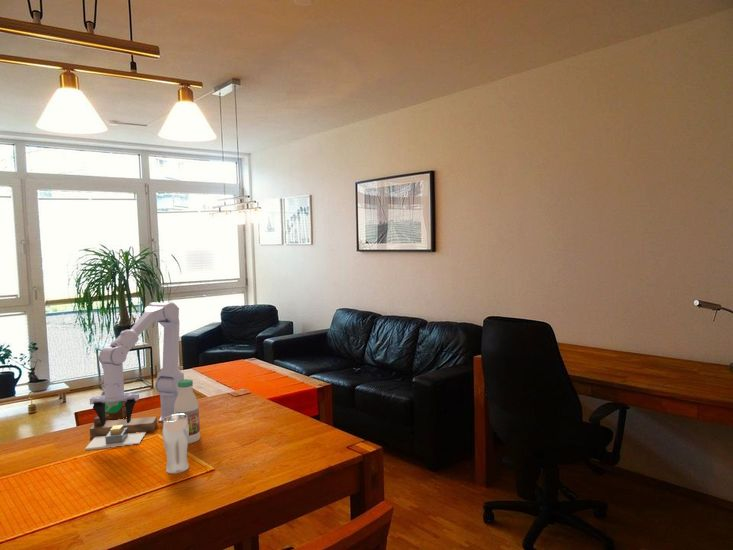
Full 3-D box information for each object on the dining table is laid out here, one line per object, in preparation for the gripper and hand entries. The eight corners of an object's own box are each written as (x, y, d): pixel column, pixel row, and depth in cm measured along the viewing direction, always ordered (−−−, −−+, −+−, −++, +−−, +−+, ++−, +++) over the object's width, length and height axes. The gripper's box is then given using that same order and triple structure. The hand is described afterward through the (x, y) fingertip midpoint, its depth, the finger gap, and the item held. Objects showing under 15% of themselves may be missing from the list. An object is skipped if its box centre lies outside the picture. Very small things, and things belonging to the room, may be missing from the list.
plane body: (157, 424, 176) (156, 409, 176) (153, 431, 169) (152, 415, 169) (96, 430, 172) (95, 415, 171) (90, 437, 165) (89, 421, 165)
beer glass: (165, 476, 134) (163, 423, 133) (163, 467, 140) (161, 416, 140) (192, 471, 137) (189, 418, 137) (188, 461, 143) (186, 411, 143)
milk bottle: (169, 443, 158) (167, 382, 157) (187, 435, 165) (184, 376, 164) (188, 446, 155) (185, 384, 154) (205, 437, 162) (202, 378, 161)
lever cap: (127, 434, 165) (127, 423, 165) (122, 442, 158) (121, 430, 158) (111, 436, 164) (111, 424, 164) (105, 444, 157) (105, 432, 157)
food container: (94, 419, 184) (92, 393, 183) (109, 414, 189) (108, 389, 188) (115, 424, 178) (113, 397, 177) (130, 418, 183) (128, 392, 183)
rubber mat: (146, 433, 167) (146, 431, 167) (139, 444, 158) (139, 442, 158) (95, 438, 164) (95, 436, 164) (85, 450, 154) (85, 448, 154)
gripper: (85, 388, 154) (88, 429, 155) (134, 384, 158) (137, 425, 158) (92, 382, 161) (95, 422, 162) (139, 378, 165) (141, 417, 165)
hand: (116, 423), depth 161 cm, fingers open, 7 cm apart
